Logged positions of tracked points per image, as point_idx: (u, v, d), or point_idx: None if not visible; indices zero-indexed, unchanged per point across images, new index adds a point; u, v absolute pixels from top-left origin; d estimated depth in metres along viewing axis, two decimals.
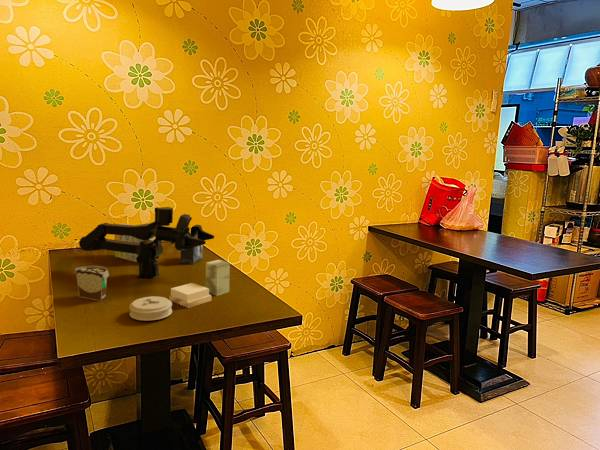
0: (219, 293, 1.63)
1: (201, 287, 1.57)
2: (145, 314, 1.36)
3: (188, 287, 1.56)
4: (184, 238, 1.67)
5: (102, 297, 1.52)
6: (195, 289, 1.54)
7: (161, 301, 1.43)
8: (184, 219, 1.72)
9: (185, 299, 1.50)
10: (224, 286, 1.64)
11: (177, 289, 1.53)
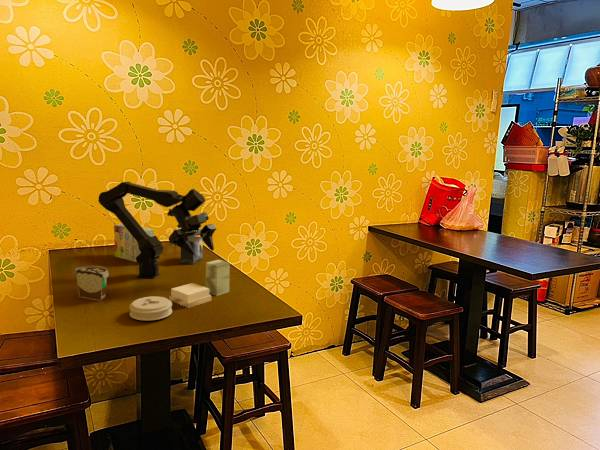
0: (219, 293, 1.63)
1: (201, 287, 1.57)
2: (145, 314, 1.36)
3: (188, 287, 1.56)
4: (179, 237, 1.63)
5: (102, 297, 1.52)
6: (195, 289, 1.54)
7: (161, 301, 1.43)
8: (195, 220, 1.65)
9: (186, 299, 1.50)
10: (224, 286, 1.64)
11: (177, 289, 1.53)
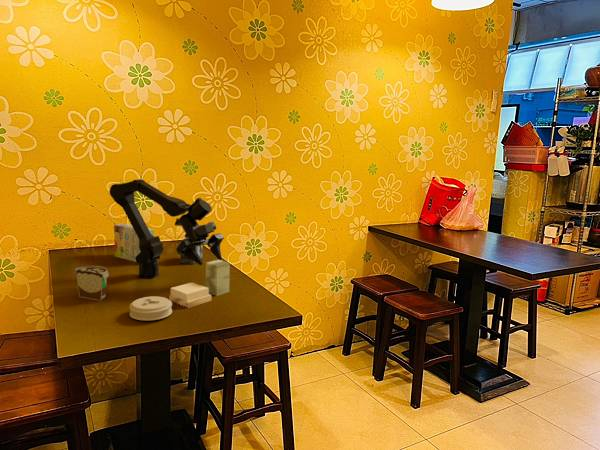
0: (219, 293, 1.63)
1: (201, 286, 1.57)
2: (145, 314, 1.36)
3: (187, 286, 1.57)
4: (187, 248, 1.61)
5: (102, 297, 1.52)
6: (194, 289, 1.54)
7: (161, 301, 1.43)
8: (203, 230, 1.63)
9: (185, 298, 1.50)
10: (224, 286, 1.64)
11: (177, 288, 1.54)
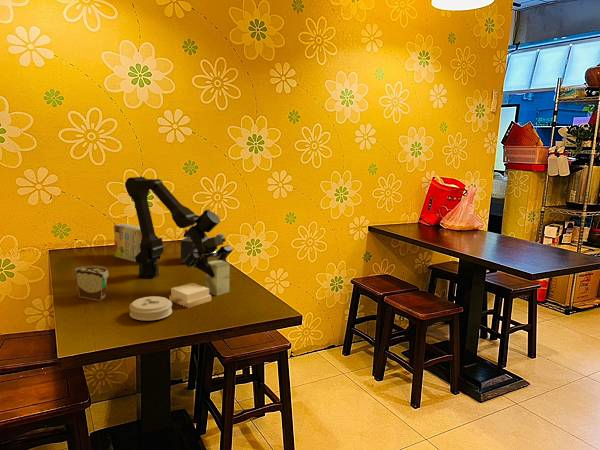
0: (219, 293, 1.63)
1: (201, 287, 1.57)
2: (145, 314, 1.36)
3: (188, 287, 1.56)
4: (199, 260, 1.60)
5: (102, 297, 1.52)
6: (195, 289, 1.54)
7: (161, 301, 1.43)
8: (212, 243, 1.61)
9: (185, 299, 1.50)
10: (224, 286, 1.64)
11: (177, 289, 1.54)
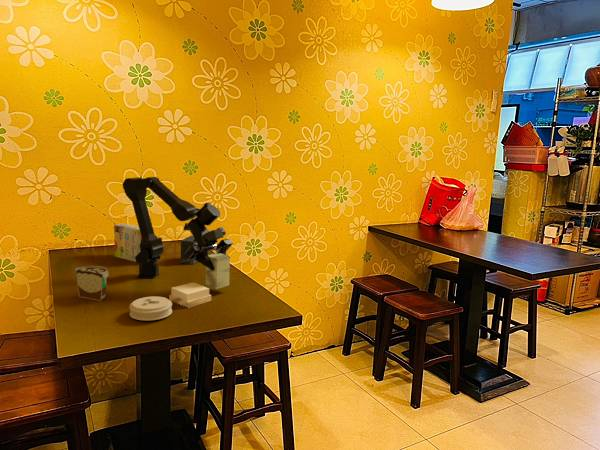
0: (219, 286, 1.62)
1: (202, 287, 1.57)
2: (145, 314, 1.36)
3: (188, 286, 1.56)
4: (199, 253, 1.59)
5: (102, 297, 1.52)
6: (195, 289, 1.54)
7: (161, 301, 1.43)
8: (212, 236, 1.60)
9: (185, 298, 1.50)
10: (224, 280, 1.64)
11: (177, 288, 1.54)
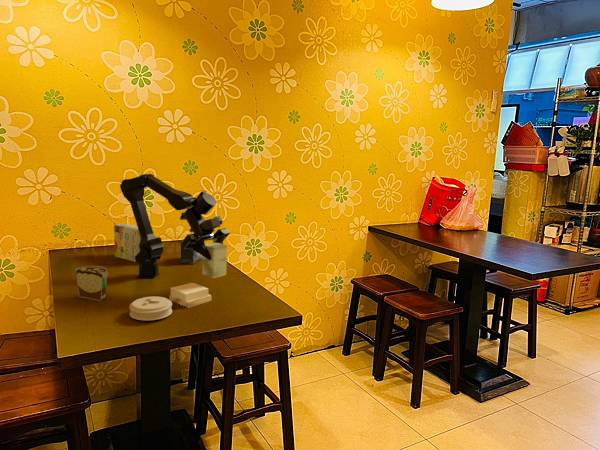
0: (216, 276, 1.60)
1: (201, 287, 1.56)
2: (145, 314, 1.36)
3: (188, 286, 1.56)
4: (195, 242, 1.57)
5: (102, 297, 1.52)
6: (194, 289, 1.54)
7: (161, 301, 1.43)
8: (209, 224, 1.58)
9: (184, 299, 1.50)
10: (221, 269, 1.62)
11: (177, 289, 1.54)
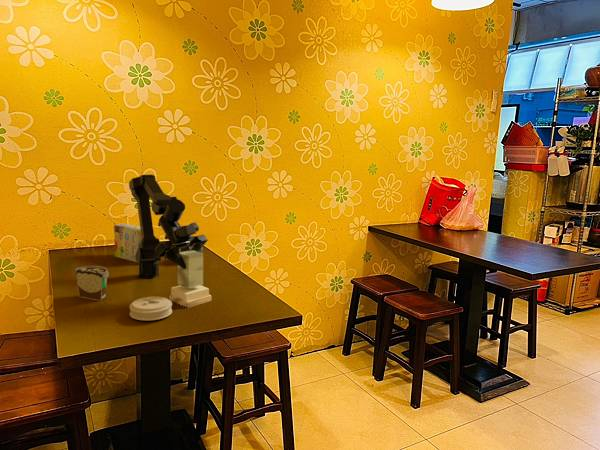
0: (191, 286, 1.52)
1: (201, 287, 1.57)
2: (145, 314, 1.36)
3: None
4: (169, 250, 1.49)
5: (102, 297, 1.52)
6: (195, 289, 1.54)
7: (161, 301, 1.43)
8: (184, 232, 1.50)
9: (184, 298, 1.50)
10: (197, 278, 1.53)
11: (177, 288, 1.54)
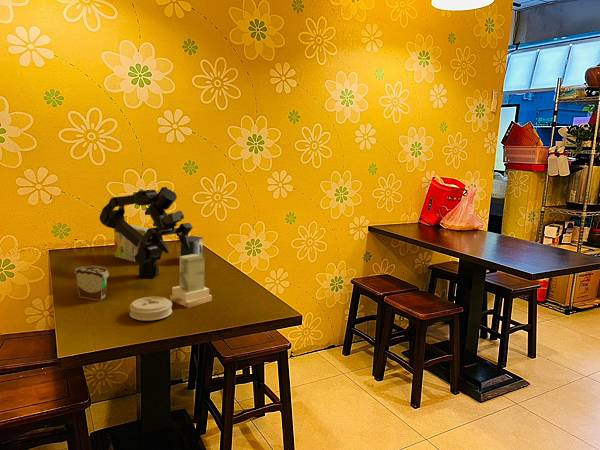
0: (191, 290, 1.52)
1: None
2: (145, 314, 1.36)
3: None
4: (153, 236, 1.63)
5: (102, 297, 1.52)
6: None
7: (161, 301, 1.43)
8: (170, 219, 1.65)
9: (184, 298, 1.50)
10: (198, 283, 1.53)
11: (178, 288, 1.54)
